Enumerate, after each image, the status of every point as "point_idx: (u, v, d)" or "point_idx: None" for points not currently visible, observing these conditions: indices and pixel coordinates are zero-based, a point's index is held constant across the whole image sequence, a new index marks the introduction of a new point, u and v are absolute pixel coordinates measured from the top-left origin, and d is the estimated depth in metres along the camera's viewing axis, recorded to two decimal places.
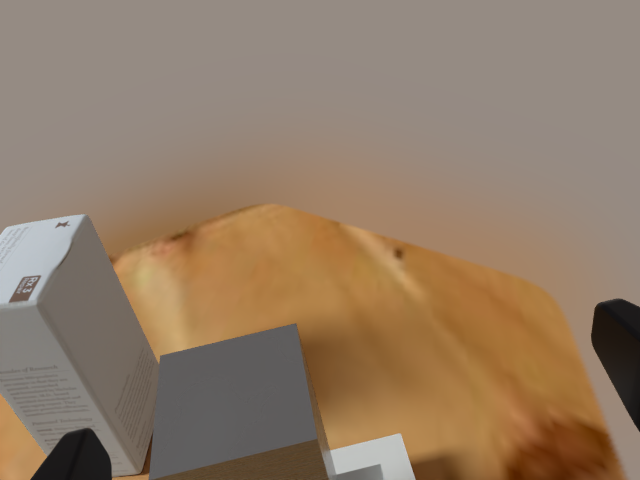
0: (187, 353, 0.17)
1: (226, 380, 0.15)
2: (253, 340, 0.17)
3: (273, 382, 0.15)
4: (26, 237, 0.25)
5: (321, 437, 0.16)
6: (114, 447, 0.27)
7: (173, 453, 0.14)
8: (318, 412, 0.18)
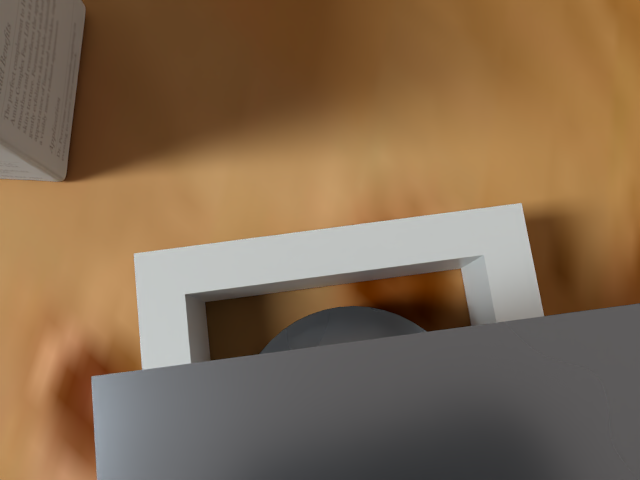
0: (210, 387, 0.04)
1: None
2: (494, 367, 0.04)
3: None
4: None
5: None
6: (8, 158, 0.15)
7: None
8: None
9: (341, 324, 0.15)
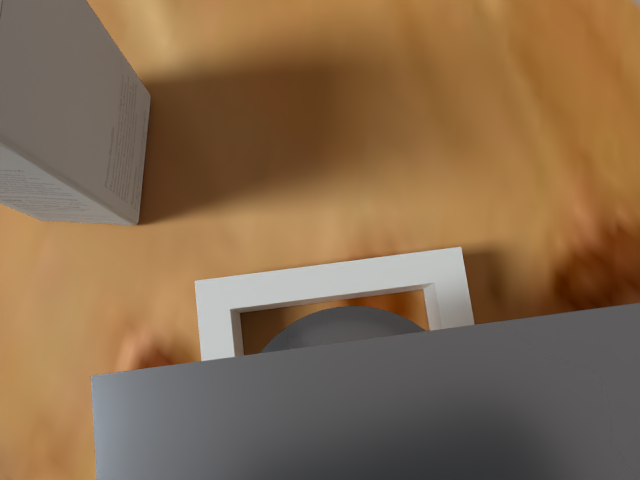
0: (210, 386, 0.04)
1: None
2: (492, 365, 0.04)
3: None
4: None
5: None
6: (106, 213, 0.22)
7: None
8: None
9: (341, 324, 0.15)
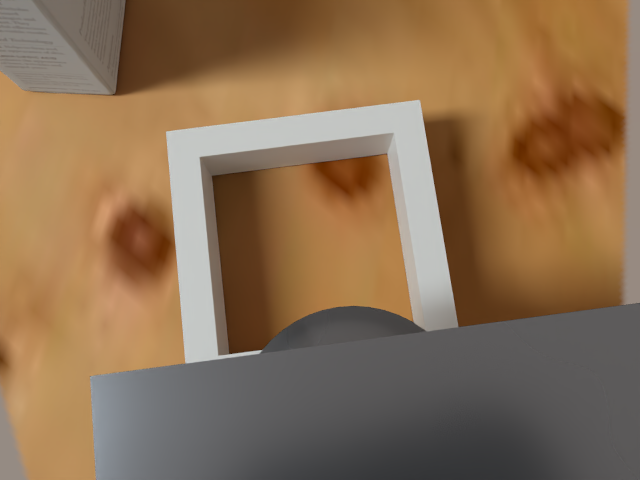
0: (209, 386, 0.04)
1: None
2: (494, 365, 0.04)
3: None
4: None
5: None
6: (83, 70, 0.23)
7: None
8: None
9: (341, 324, 0.15)
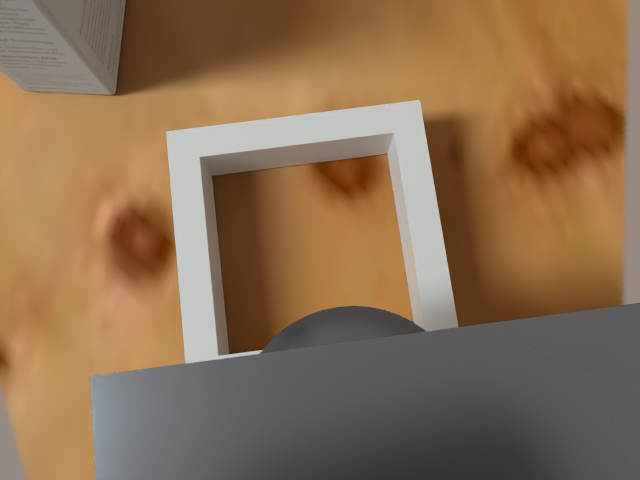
0: (209, 386, 0.04)
1: None
2: (493, 367, 0.04)
3: None
4: None
5: None
6: (83, 71, 0.23)
7: None
8: None
9: (341, 324, 0.15)
